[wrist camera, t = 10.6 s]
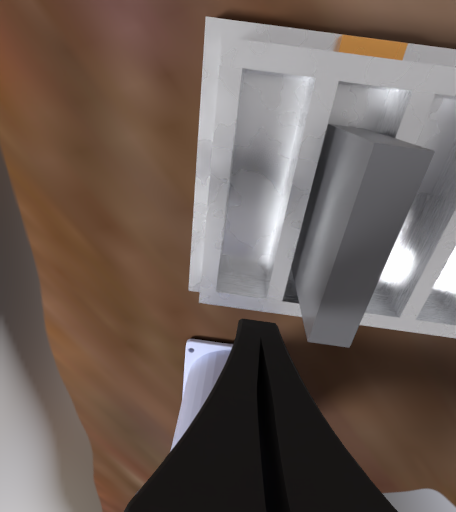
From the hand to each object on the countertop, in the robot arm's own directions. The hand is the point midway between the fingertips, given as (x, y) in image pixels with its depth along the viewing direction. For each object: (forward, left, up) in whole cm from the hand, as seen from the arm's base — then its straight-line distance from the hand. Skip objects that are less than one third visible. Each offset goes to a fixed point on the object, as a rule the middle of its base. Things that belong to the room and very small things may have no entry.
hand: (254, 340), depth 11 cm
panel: (+3, -4, -9) cm, 11 cm away
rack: (+3, -6, -10) cm, 12 cm away
